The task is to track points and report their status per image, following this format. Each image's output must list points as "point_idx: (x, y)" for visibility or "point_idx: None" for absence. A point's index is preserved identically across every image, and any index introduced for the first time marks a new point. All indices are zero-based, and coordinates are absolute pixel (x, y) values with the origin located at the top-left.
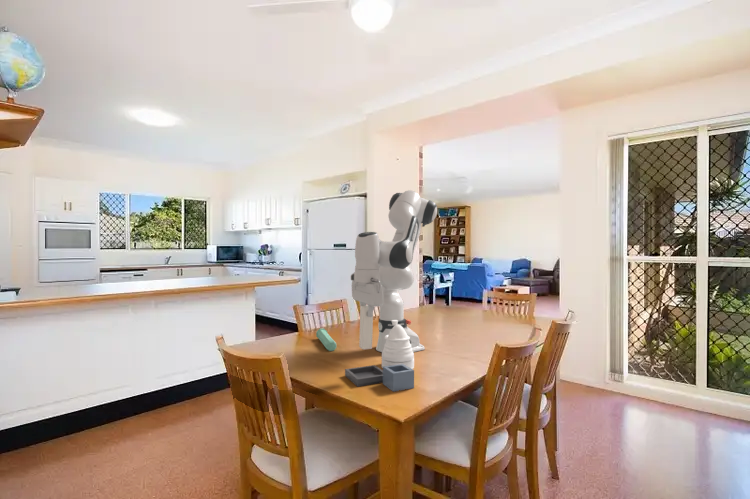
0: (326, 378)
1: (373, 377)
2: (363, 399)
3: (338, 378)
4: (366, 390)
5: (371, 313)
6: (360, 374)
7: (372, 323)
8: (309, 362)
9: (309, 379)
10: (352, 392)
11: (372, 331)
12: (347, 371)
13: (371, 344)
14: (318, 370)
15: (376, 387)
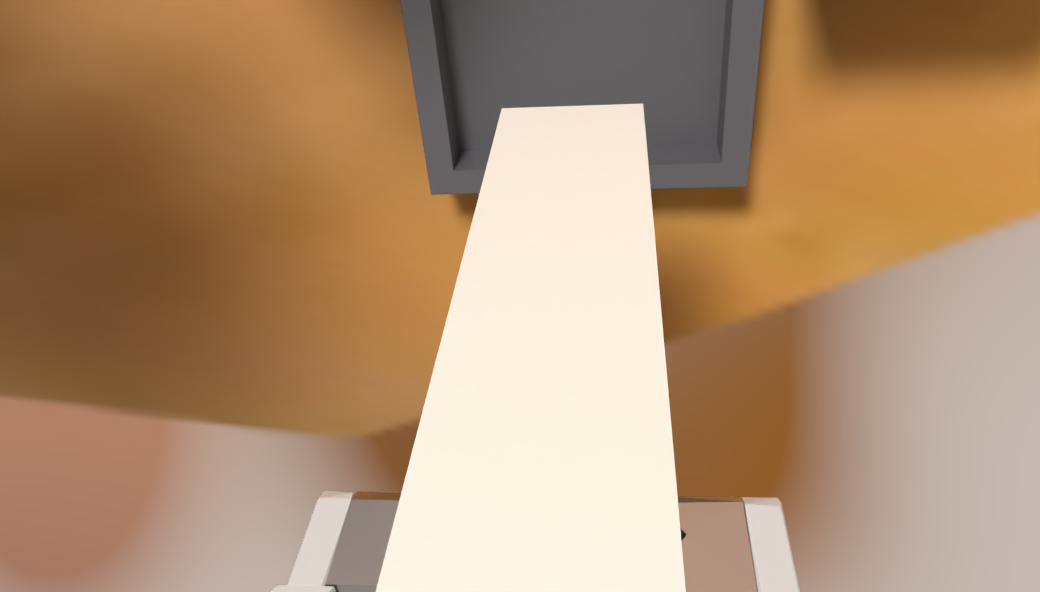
0: None
1: (760, 25)
2: (1010, 200)
3: None
4: (856, 116)
5: (789, 582)
6: (503, 54)
7: (662, 328)
8: (35, 313)
9: None
10: (830, 225)
11: (652, 230)
12: None
13: (644, 138)
14: (251, 303)
15: (842, 7)
